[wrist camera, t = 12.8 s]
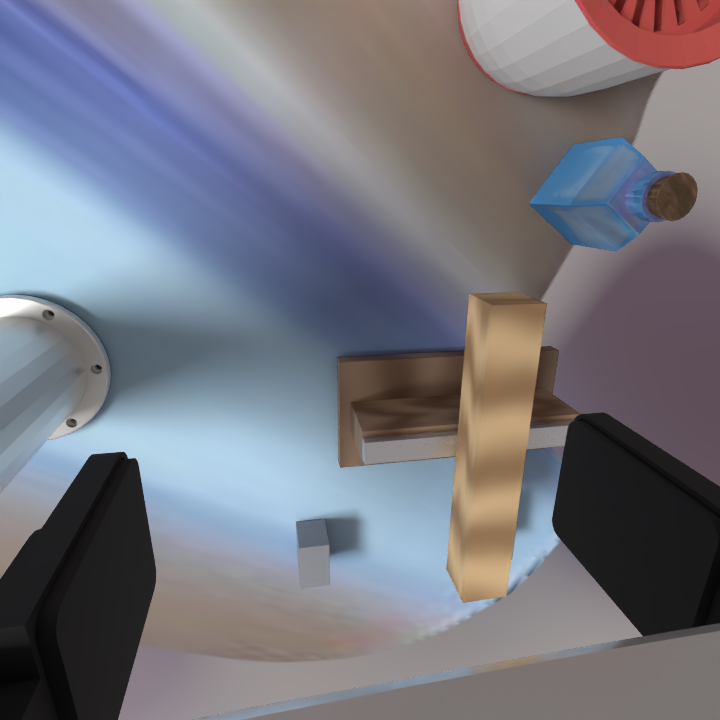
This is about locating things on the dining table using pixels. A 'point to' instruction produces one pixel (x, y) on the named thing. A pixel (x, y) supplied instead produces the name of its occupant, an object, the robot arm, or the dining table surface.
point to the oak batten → (492, 439)
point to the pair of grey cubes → (316, 553)
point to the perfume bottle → (610, 194)
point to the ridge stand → (425, 407)
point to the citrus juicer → (586, 41)
